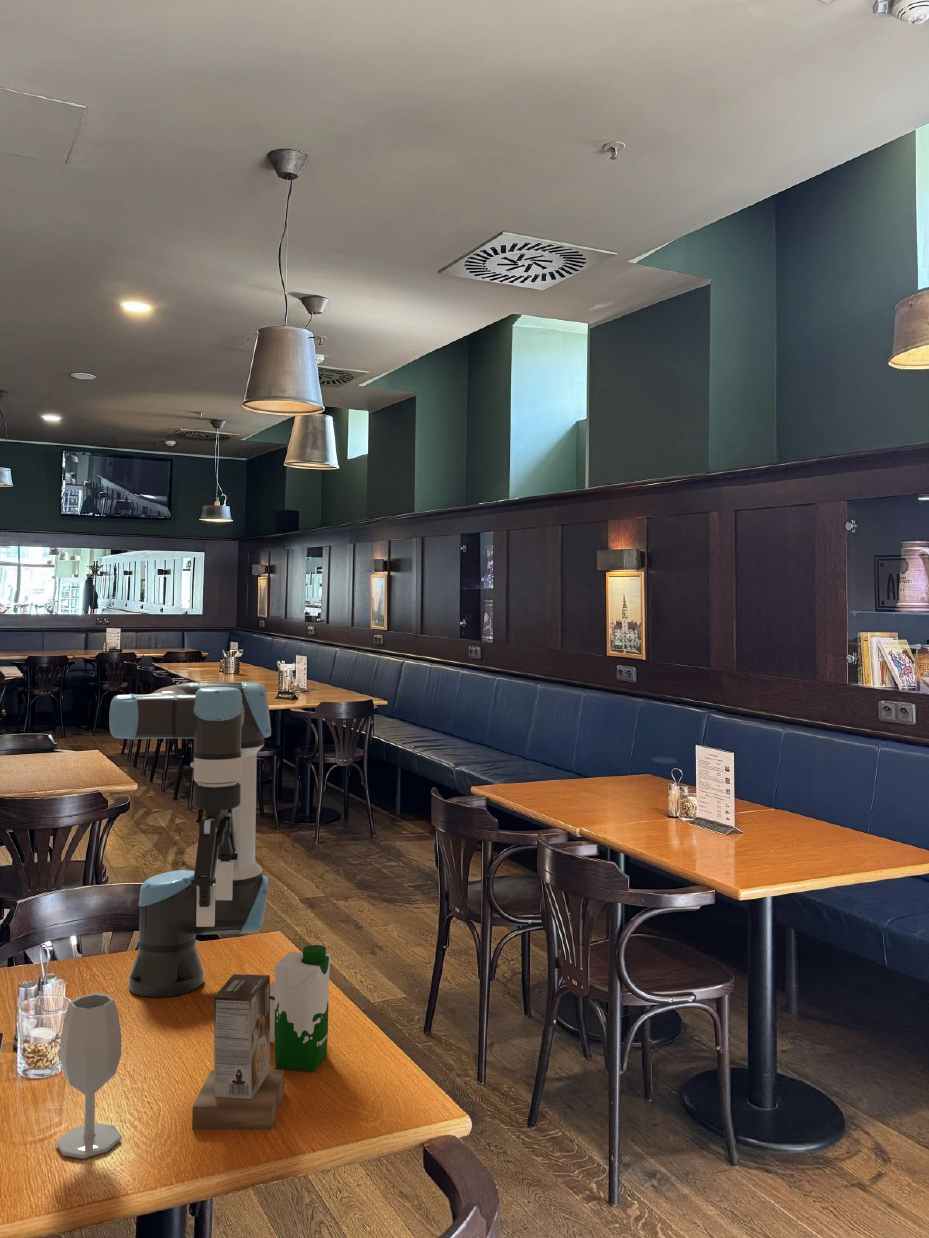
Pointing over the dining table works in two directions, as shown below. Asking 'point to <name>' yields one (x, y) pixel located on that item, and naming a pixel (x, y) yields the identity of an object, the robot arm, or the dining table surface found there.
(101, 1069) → the wineglass
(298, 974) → the milk carton
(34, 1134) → the dining table surface
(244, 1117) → the brown flat block
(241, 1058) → the coffee box
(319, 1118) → the dining table surface
